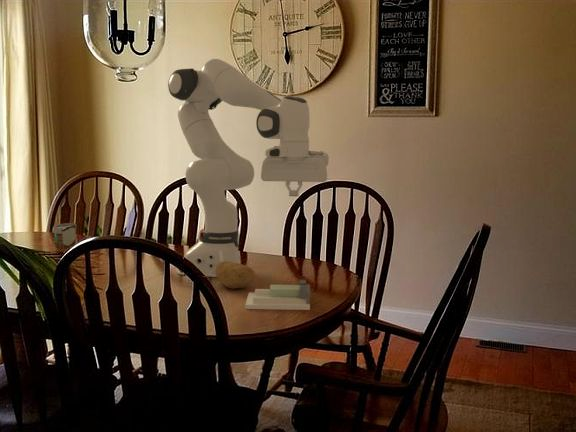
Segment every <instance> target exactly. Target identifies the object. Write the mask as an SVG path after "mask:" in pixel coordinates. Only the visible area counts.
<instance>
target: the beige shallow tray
mask: <svg viewBox="0 0 576 432" xmlns="http://www.w3.org/2000/svg"><path fill="white" fill-rule="evenodd" d="M299 285H300V298H288V297H270V288H269V289H268V288H255V289H254V292H248V294H247V297H246V302H245V310H287V311H289V310H291V311H292V310H295V311H298V310H300V311H301V310H302V311H310V310H311V290H310V289H311V288H310V287H311V285H310V284H307V279H299Z"/></svg>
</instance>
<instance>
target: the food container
mask: <svg viewBox="0 0 576 432" xmlns="http://www.w3.org/2000/svg"><path fill="white" fill-rule="evenodd" d="M52 233H53V234H54V241H55V249H56V248H58V249H67V248H69V247H70V246H73V245H75V244H76V243H77V239H76V237H77V224H76V222H70V223H69V222H67V223H59V224H55V225H53V227H52ZM76 245H77V244H76Z"/></svg>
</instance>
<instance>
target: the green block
mask: <svg viewBox="0 0 576 432" xmlns="http://www.w3.org/2000/svg"><path fill="white" fill-rule="evenodd" d="M269 289H270V297H288V298H300V284H270V286H269Z"/></svg>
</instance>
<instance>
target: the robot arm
mask: <svg viewBox="0 0 576 432" xmlns="http://www.w3.org/2000/svg"><path fill="white" fill-rule="evenodd" d="M167 84H168V85H167V87H168V91H169V94H170V95H171V96H172V97H173V98H174V99H177V100H179V101H182V102H183V101H184V103H183V104H181V106H180V107H179V108H178V109H177V110H178V111H177V117H178V121H179V127H180V129H181V130H182V133H183V135H184V138H185V140H186V142H187V144H188V146H189V149H190V150H191V152H192V153H193V155H194V156H196V157H197V158H199V159H198V160H195V161H191V162H190V163H189V164H188V165H187V167H186V171H185V180H186V181H185V182H186V183H187V185H188V186H189V188H190V189H191V190H192V191H194V192H195V193H196V195H197V196H198V197H199V199H200V202H201V203H202V206H203V211H204V227H205V228H202V229H200V231H199V233H198V240H199V241H198V242H196V243H195V244H194V245H193V246H191V247H190V248H189V249H188V250H187V251H186V252H185V253H184V256H183V258H184V257H185V258H186V259H188V260H189V261H191V262H192V263H193V264H194V265H195V266H196V267H197V268H199V269H200V270H201V271H202V272H203V273H204V275H205V276H204V277H212V278H217V276H216V273H215V267H216V265H217V264H218V263H220V262H222V261H229V262H234V263H239V264H241V260H240V254H239V245H240V237H239V236H240V233H239V229H238V209H237V207H236V206H235V204H233V203H232V202H230V201H229V200H228V198H227V197H226V193H225V191H229V190H239V189H242V188H245V187H247V186H249V185H251V184H252V182H253V181H254V178H255V168H254V166H253V164H252V162H251V161H250V160H249V159H247V158H244V157H243V156H241V155H240V154H238V153H236V152H235V150H233V149H232V148H231V147H230V146H229V145H227V143H226V142H225V141H224V140H223V138H222V136H221V135H220V133H219V132H218V129H217V127H216V125H215V124H214V122H213V119H212V118H211V116H210V113H209V110H210V111H211V110H214V109H216V108H217V107H218V105H220V104H221V103H222V102H224V103H226V104H228V105H230V106H232V107H233V106H234V107H241V108H250V109H256V110H260V112H258V114H257V117H256V130H257V132H258V134H259V135H260V136H261V137H263V138H264V139H268V140H269V139H270V140H279V145H274V146H273V147H270V148H268V149H266V150H265V152H264V153H265V154H264V155H265V158H264V159H263V161H262V165H261V171H260V179H261V180H262V181H263V182H285V187H286V189H287V190H288V197H299V193H300V191H301V188H302V187H303V183H305V182H307V183H311V182H312V183H326V181H327V180H328V169H327V166H328V165H329V161H330V160H329V155H328V153H326V152H324V151H323V150H322V151H321V150H320V151H315V150H313V151H312V150H310V138H309V131H310V121H311V120H310V108H309V107H310V106H309V104H308V101H307V100H306V99H305V98H302V97H297V96H290V95H289V96H287V95H286V96H284V97H282V98H281V99H280V97H278V96H276V95H275V94H273V93H272V92H270V91H268V90H266V88H264V87H262V86H260V85H259V84H257V83H256V82H255V81H253V80H252V79H250V78H249V77H247V76H246V75H245V74H244V73H242V72H241V71H239V70H238V68H235V67H234V66H232V65H231V64H230V63H228V62H226V61H224V60H221V59H219V58H212V59H210V60H207V61H206V62H205V64H204V65H203V67H202V69H201V70H196V69H195V68H180V69H176V70H174V71H173V72H172V73H171V75H170V76H169V78H168V81H167ZM291 182H293V183H294V182H297V186H298V187H297V189H292V188H291V187H290V185H291ZM175 272H176V274H178V275H183V276H185V275H184V274H183V273H181V272H180V271H179V270H178V269H177V268H176V271H175Z"/></svg>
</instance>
